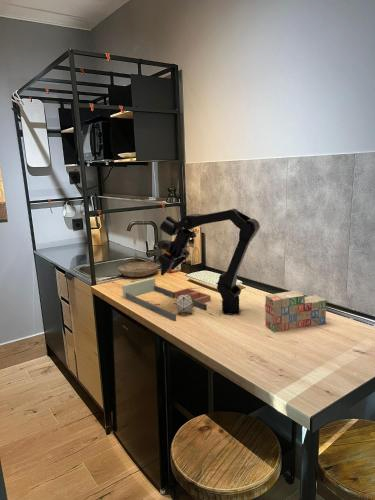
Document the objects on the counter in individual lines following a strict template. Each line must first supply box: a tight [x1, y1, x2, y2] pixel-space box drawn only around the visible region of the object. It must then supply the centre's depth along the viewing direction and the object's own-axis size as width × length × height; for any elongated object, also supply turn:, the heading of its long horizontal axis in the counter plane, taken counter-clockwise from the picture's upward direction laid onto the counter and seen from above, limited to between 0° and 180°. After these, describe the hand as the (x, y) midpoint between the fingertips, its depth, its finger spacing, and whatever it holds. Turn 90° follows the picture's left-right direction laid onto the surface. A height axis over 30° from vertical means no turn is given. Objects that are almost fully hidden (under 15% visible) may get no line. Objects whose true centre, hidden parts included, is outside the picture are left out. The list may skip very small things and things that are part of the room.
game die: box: [173, 293, 195, 315], centre depth 151 cm, size 9×8×10 cm
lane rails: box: [125, 284, 208, 322], centre depth 163 cm, size 38×17×2 cm, turn 39°
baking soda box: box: [161, 249, 184, 275], centre depth 216 cm, size 10×6×16 cm
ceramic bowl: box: [117, 261, 160, 278], centre depth 213 cm, size 23×24×5 cm
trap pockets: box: [173, 287, 212, 304], centre depth 168 cm, size 16×9×2 cm, turn 39°
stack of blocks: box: [264, 290, 327, 333], centre depth 135 cm, size 21×6×12 cm, turn 106°
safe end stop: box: [121, 277, 156, 299], centre depth 178 cm, size 2×17×6 cm, turn 129°
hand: (166, 272), depth 161 cm, fingers open, 9 cm apart
